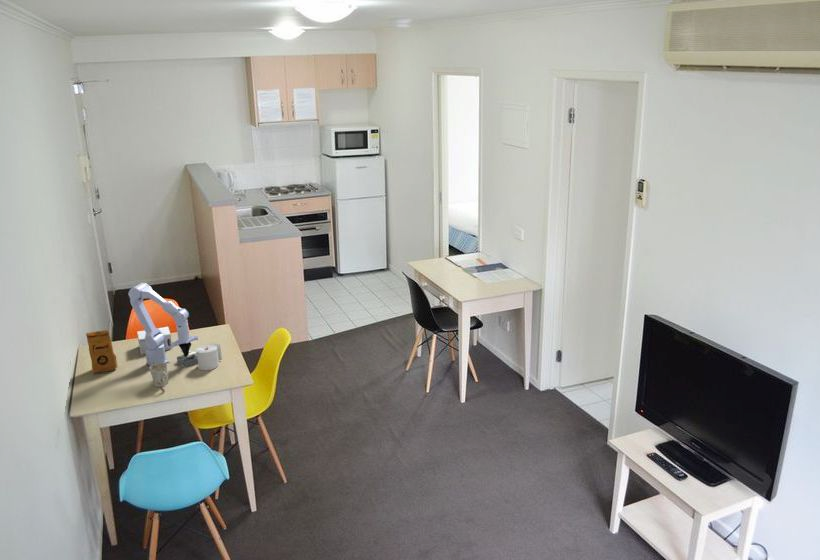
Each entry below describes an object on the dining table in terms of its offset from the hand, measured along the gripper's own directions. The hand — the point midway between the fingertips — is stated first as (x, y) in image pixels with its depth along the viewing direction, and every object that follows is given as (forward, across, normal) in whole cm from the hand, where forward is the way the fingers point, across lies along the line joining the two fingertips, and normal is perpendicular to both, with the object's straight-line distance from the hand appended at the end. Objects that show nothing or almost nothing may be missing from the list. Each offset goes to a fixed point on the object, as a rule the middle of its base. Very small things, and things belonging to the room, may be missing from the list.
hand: (186, 355), depth 349 cm
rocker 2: (0, +3, 0) cm, 3 cm away
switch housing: (+5, +3, +2) cm, 6 cm away
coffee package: (+5, -34, +25) cm, 43 cm away
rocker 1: (0, +3, +4) cm, 5 cm away
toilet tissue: (+5, +8, -10) cm, 13 cm away
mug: (+5, -20, -15) cm, 25 cm away
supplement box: (+5, -3, +34) cm, 35 cm away
